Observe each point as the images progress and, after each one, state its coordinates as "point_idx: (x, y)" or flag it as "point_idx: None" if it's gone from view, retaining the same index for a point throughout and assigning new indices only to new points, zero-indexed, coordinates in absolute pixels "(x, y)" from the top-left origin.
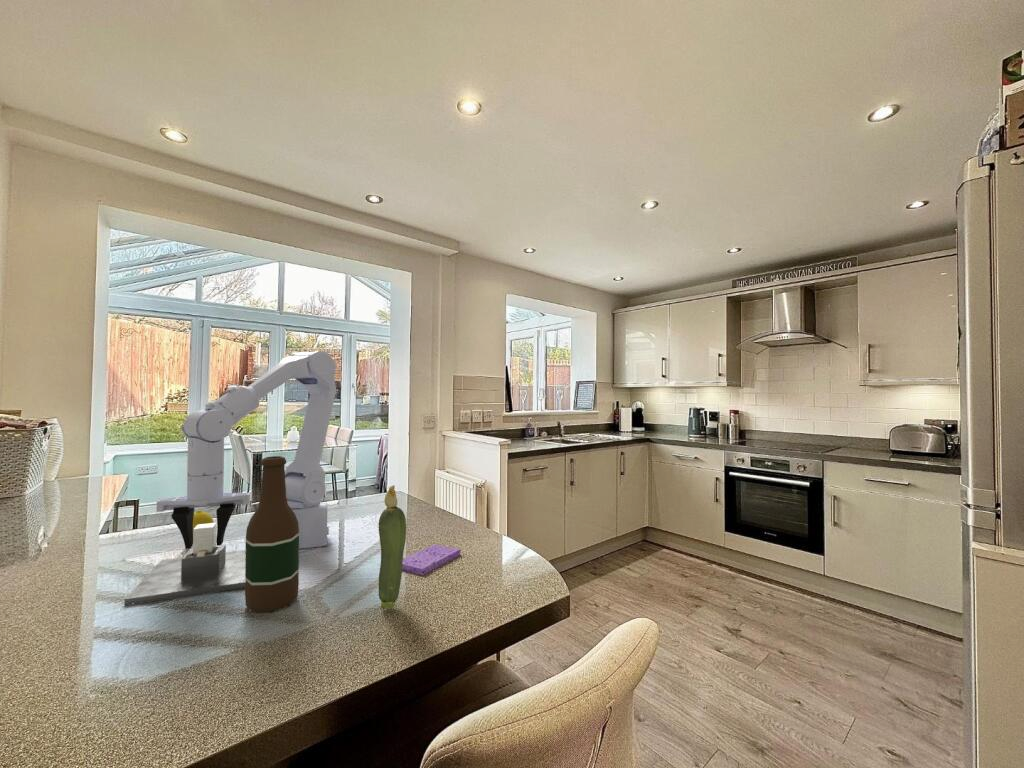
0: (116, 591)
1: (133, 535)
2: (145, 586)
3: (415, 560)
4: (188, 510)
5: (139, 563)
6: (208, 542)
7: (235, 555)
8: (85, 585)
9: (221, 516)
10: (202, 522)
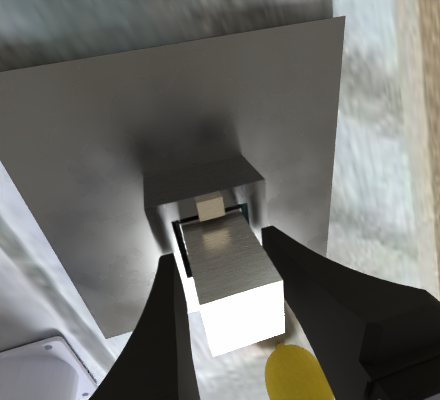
0: (370, 130)
1: None
2: (316, 110)
3: None
4: (374, 379)
5: (359, 271)
6: (201, 249)
7: None
8: (427, 175)
9: (148, 370)
10: (295, 398)
